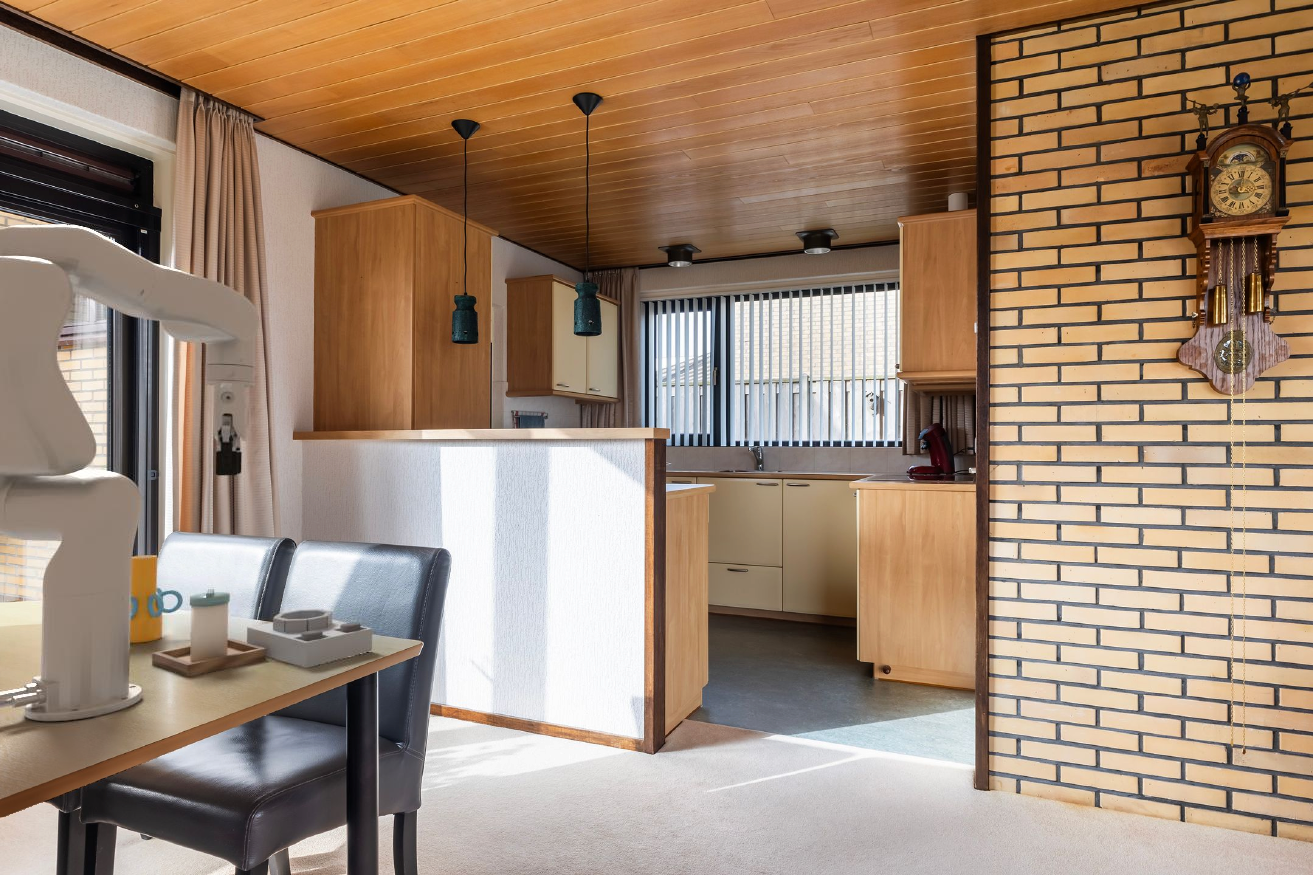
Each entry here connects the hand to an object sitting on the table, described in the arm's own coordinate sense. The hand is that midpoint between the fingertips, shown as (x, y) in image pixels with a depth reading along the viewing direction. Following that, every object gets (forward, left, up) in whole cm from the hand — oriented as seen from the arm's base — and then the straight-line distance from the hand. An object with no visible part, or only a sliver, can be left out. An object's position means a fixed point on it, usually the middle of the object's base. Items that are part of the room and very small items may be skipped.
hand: (228, 474), depth 132 cm
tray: (-6, -7, -30) cm, 32 cm away
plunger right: (+11, -20, -29) cm, 37 cm away
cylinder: (-6, +18, -31) cm, 36 cm away
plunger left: (+4, -20, -29) cm, 36 cm away
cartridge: (-6, -7, -30) cm, 31 cm away
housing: (+7, -15, -30) cm, 34 cm away
